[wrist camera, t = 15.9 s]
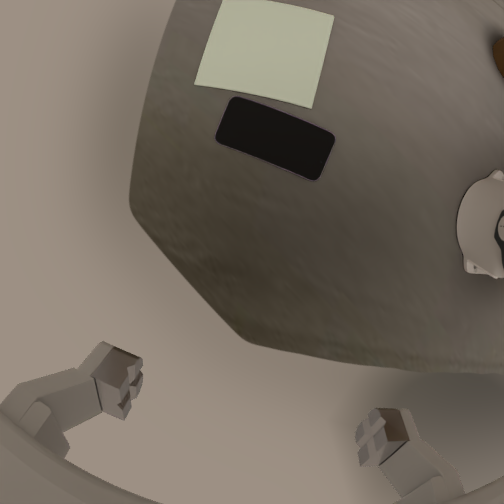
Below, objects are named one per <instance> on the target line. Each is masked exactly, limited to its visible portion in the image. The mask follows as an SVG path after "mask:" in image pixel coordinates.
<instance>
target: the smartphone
mask: <svg viewBox="0 0 504 504" xmlns="http://www.w3.org/2000/svg"><path fill="white" fill-rule="evenodd" d="M215 141H216V142H217V143H218V144H220V145H222V146H225V147H228V148H231V149H233V150H236V151H239V152H242V153H244V154H247V155H249V156H252V157H255V158H257V159H260V160H262V161H265V162H267V163H270V164H272V165H275V166H276V167H279V168H281V169H283V170H286V171H289V172H291V173H294V174H296V175H298V176H300V177H303V178H305V179H307V180H310V181H317V180H318V179H319V178H320V177H321V175H322V173H323V170H324V168H325V166H326V163H327V161H328V159H329V156H330V154H331V152H332V149H333V147H334V145H335V142H336V137H335V135H334V134H333V133H332V132H330V131H328V130H326V129H324V128H321V127H320V126H317V125H315V124H313V123H310V122H308V121H305V120H303V119H301V118H298V117H296V116H293V115H291V114H288V113H286V112H283V111H281V110H278V109H275V108H273V107H270V106H267V105H264V104H262V103H259V102H256V101H253V100H250V99H247V98H244V97H241V96H233V97H232V98H230V100H229V101H228V104H227V106H226V108H225V111H224V113H223V116H222V118H221V120H220V123H219V125H218V128H217V130H216V133H215Z"/></svg>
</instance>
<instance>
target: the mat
mask: <svg viewBox="0 0 504 504" xmlns="http://www.w3.org/2000/svg"><path fill="white" fill-rule="evenodd" d="M333 20H334V16H332V15H329V14H325V13H322V12H318V11H314V10H311V9H306V8H302V7H298V6H293V5H288V4H283V3H278V2H272V1H266V0H223V2H222V5H221V7H220V10H219V12H218V15H217V18H216V20H215V23H214V26H213V28H212V31H211V34H210V37H209V40H208V43H207V45H206V48H205V51H204V55H203V58H202V61H201V64H200V67H199V70H198V74H197V77H196V80H195V84H194V85H197V86H204V87H211V88H218V89H224V90H230V91H236V92H241V93H247V94H252V95H256V96H261V97H265V98H270V99H274V100H278V101H282V102H286V103H290V104H294V105H297V106H301V107H305V108H308V109H312V105H313V101H314V97H315V93H316V89H317V85H318V81H319V77H320V73H321V69H322V65H323V61H324V57H325V53H326V49H327V45H328V41H329V37H330V33H331V29H332V24H333Z"/></svg>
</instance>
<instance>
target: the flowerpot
mask: <svg viewBox="0 0 504 504" xmlns="http://www.w3.org/2000/svg"><path fill="white" fill-rule="evenodd" d="M493 57H494V59H495V62H496V64H497V67H498V70H499V71H500V73H501V74H502V76H503V77H504V37H503V38H501V39H500V40H498V41H497V42H496V43H495V44H494V45H493Z"/></svg>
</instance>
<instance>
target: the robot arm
mask: <svg viewBox="0 0 504 504" xmlns="http://www.w3.org/2000/svg"><path fill="white" fill-rule="evenodd" d="M457 237H458V242H459V245H460V248H461V250H462V253H463V256H464V270H465V271H466V272H468V273H474V274H489V275H490V276H492V277H493V278H495V279H497V278H498V277H499V278H504V174H503V173H502V172H501V171H500V170H494V171H493V172H492V173H491V174H490V176H489V177H487V178H485V179H482V180H479V181H477V182H476V183H474V184H473V185H472V186H471V187H470V188H469V189H468V191H467V192H466V194H465V196H464V198H463V200H462V202H461V205H460V208H459V212H458V218H457ZM142 366H143V360H142V358H141V357H137V356H136V355H133V354H131V353H129V352H126V351H124V350H122V349H120V348H117V347H115V346H113V345H110V344H108V343H106V342H104V341H102V342H100V343H99V344H98V345H97V346H96V347H95V348H94V350H93V351H92V352H91V353H90V354H89V355H88V357H87V358H86V359H85V360H84V362H83V363H82V364H81V365H80V366H79V367H78V369H75V368H71V369H68V370H65V371H61V372H58V373H55V374H51V375H48V376H45V377H41V378H38V379H34V380H31V381H27V382H23V383H20V384H18V385H17V386H16V387H15V388H14V389H13V390H12V391H11V393H10V394H9V395H8V396H7V397H6V398H5V400H4V401H3V402H2V403H1V404H0V504H162V503H158V502H156V501H153V500H150V499H147V498H144V497H141V496H139V495H136V494H134V493H131V492H129V491H126V490H124V489H121V488H119V487H117V486H114V485H113V484H110V483H108V482H106V481H104V480H102V479H100V478H98V477H96V476H94V475H92V474H90V473H88V472H87V471H85V470H83V469H81V468H79V467H77V466H76V465H74V464H72V463H71V462H69V461H67V460H66V459H64V458H65V456H66V454H67V452H68V451H69V449H70V446H69V443H68V441H67V440H66V438H65V436H64V434H63V432H65V431H67V430H69V429H71V428H73V427H75V426H77V425H79V424H81V423H83V422H84V421H86V420H88V419H91V418H92V417H94V416H96V415H98V414H100V413H102V411H103V412H105V413H107V414H110V415H112V416H114V417H116V418H119V419H121V420H125V418H126V416H127V415H128V413H129V411H130V409H131V400H133V399H135V398H137V396H138V394H139V392H140V389H141V386H142V382H143V374H142V372H141V371H140V369H141V368H142ZM355 439H356V443H357V445H358V446H359V447H360V450H359V451H358V456H359V463H360V466H379V468H380V470H381V471H382V472H383V473H384V475H385V476H386V478H387V479H388V480H389V482H390V483H391V484H392V486H393V487H394V488H395V490H396V491H397V492H398V494H399V495H400V496H401V497H402V498H401V499H400V500H398V501H396V502H394V503H393V504H504V476H502V477H500V478H498V479H497V480H495V481H493V482H491V483H489V484H487V485H485V486H482V487H480V488H478V489H476V490H474V491H471V492H469V493H467V494H465V492H464V489H463V486H462V483H461V480H460V476H459V474H458V471H457V470H456V469H455V468H454V467H453V466H452V465H451V464H450V463H449V462H447V461H446V460H445V459H444V458H443V457H442V456H441V455H440V454H439V453H437V452H436V451H435V450H434V449H433V448H432V447H431V446H430V445H428V444H427V443H426V442H425V441H424V440H420V437H419V434H418V431H417V429H416V426H415V423H414V421H413V418H412V415H411V413H410V411H409V410H408V409H392V408H374V409H372V410H371V411H370V412H369V413H368V418H367V419H365V420H363V421H362V422H361V423H360V424H359V425H358V427H357V430H356V435H355Z"/></svg>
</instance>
